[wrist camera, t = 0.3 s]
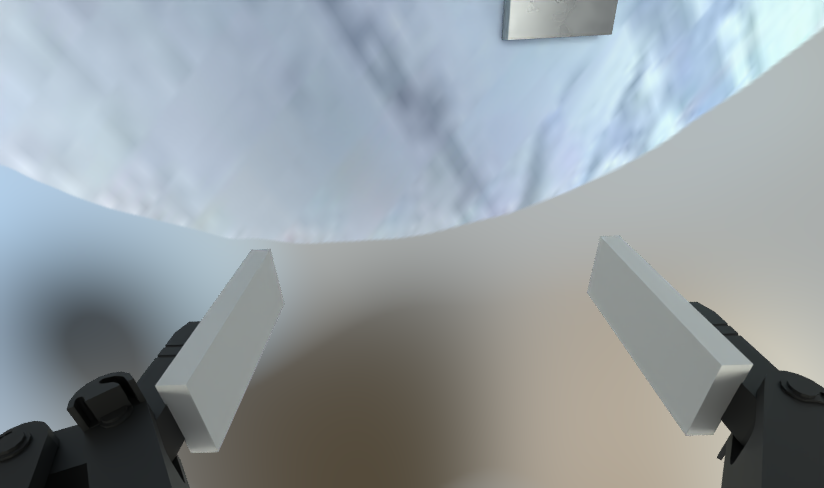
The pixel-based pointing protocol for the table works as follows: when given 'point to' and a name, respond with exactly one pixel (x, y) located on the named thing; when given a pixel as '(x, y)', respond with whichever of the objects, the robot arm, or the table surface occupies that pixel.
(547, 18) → the grey slotted board
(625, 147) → the table surface
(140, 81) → the table surface
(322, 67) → the table surface
